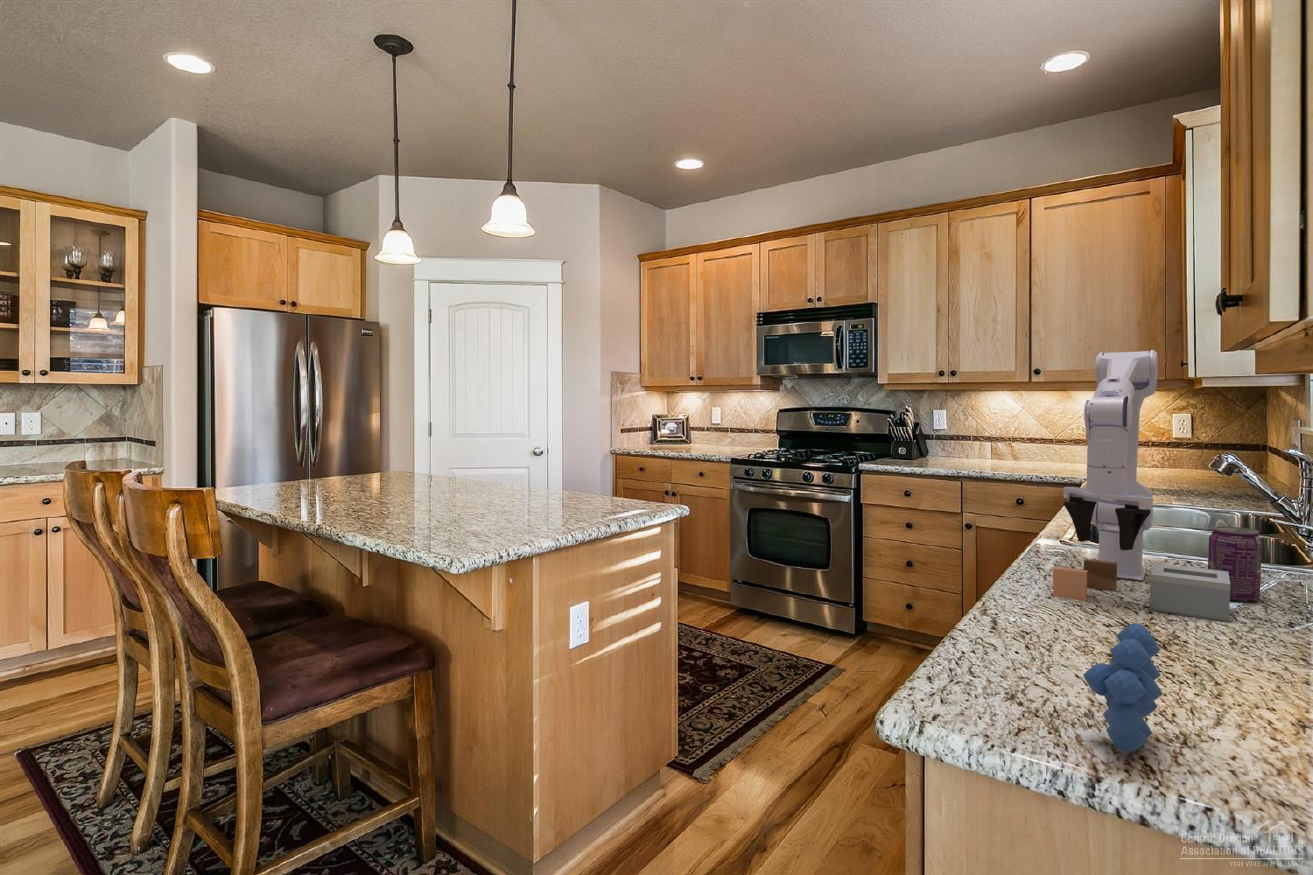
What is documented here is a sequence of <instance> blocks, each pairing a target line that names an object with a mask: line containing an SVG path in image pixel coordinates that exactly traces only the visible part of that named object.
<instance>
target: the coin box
mask: <svg viewBox="0 0 1313 875" xmlns="http://www.w3.org/2000/svg"><path fill="white" fill-rule="evenodd" d="M1149 592H1150V595H1149V596H1150V598H1149V611H1152V612H1157V611H1158V612H1157V613H1164V612H1165V613H1164V614H1170V615H1171V614H1172V615H1177V616H1178V615H1179V616H1184V617H1185V616H1186V617H1192V618H1199V619H1204V620H1210V621H1211V620H1212V621H1219V622H1224V623H1229V622H1230V603H1231V600H1230V579H1229V573H1228V571H1219V570H1211V569H1208V568H1203V567H1202V568H1200V567H1193V566H1192V567H1191V566H1183V565H1175V564H1166V563H1157V562H1154V563H1153V566H1152V570H1151V573H1150V591H1149Z"/></svg>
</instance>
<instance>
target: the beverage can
mask: <svg viewBox="0 0 1313 875" xmlns="http://www.w3.org/2000/svg"><path fill="white" fill-rule="evenodd" d="M1259 534H1260V531H1258V530H1256V529H1253V528H1247V527H1246V528H1245V527H1238V526H1226V525H1223V526H1221V525H1220V526H1213V527H1212V532H1211V534H1209V537H1208V552H1207V553H1208V555H1207V556H1208V557H1207V569H1211V570H1219V571H1228V573H1229V579H1230V601H1235V602H1251V601H1253V600H1257V599H1260V598H1261V582H1262V581H1261V579H1262V578H1261V577H1262V576H1261V574H1262V552H1263V551H1262V550H1263V542H1262V540H1261V538H1260V536H1259Z"/></svg>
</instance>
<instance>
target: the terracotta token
mask: <svg viewBox="0 0 1313 875" xmlns="http://www.w3.org/2000/svg"><path fill="white" fill-rule="evenodd" d="M1052 569H1053V570H1052V597H1055V598H1062V597H1063V598H1062V599H1069V600H1076V601H1082V602H1083V601H1084V602H1086V601H1087V599H1088V588H1087V586H1088V570H1084V569H1079V568H1072V567H1065V566H1055V565H1054V567H1053V568H1052Z"/></svg>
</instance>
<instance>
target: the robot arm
mask: <svg viewBox="0 0 1313 875" xmlns="http://www.w3.org/2000/svg"><path fill="white" fill-rule="evenodd" d="M1158 356H1159V355H1158V352H1157V351H1156V350H1154V349H1151V350H1142V351H1119V352H1118V351H1117V352H1103V351H1101V352H1099V353H1098V354H1097V355H1096V357H1095V363H1094V364H1095V365H1094V372H1095V373H1094V375H1095V381H1096V384H1097V386H1096V389H1095V392H1094V395H1093V396H1092V397H1091V399H1086V401H1085V404H1084V409H1083V421H1084V425H1085V439H1086V440H1087V445H1086V446H1087V448H1086V449H1087V450H1086V451H1087V452H1086V483H1085V484H1086V487H1077V486H1064V487H1063V498H1064V499H1068V500H1065V501H1064V502H1063V506H1064V508H1065V509H1066V511H1067V512H1068V514H1069V516H1070V518H1071V521H1072V524H1073V526H1074V530H1075V534H1076V538H1077V541H1078V542H1089V541H1090V540H1091V536H1092V524H1093V526H1096V527H1097V530H1099V532H1098V559H1097V560H1100V561H1108V562H1117V579H1126V580H1133V581H1144V578H1145V575H1146V572H1147V570H1146V569H1145V568H1143V553H1144V552H1143V551H1144V550H1143V547H1144V546H1143V545H1144V532H1145V531H1149V530H1150V529H1152V528H1153V527H1152V526H1153V519H1154V518H1153V515H1154V497H1153V493H1152V492H1151V490H1150V489H1149V488H1148V487H1147V486H1145V485H1144V484H1142V483H1141V482H1139V481H1138V480H1137V472H1138V457H1139V456H1138V455H1139V454H1138V453H1139V437H1140V436H1139V435H1140V434H1139V433H1140V420H1141V419H1140V418H1141V417H1140V416H1141V414H1140V413H1141V409H1142V407H1143V406H1142V405H1143V403H1144V400H1145V399H1147V398H1148V397H1151V396H1154V395H1155V391H1156V390H1157V386H1158V385H1157V382H1158V371H1159V357H1158Z"/></svg>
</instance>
